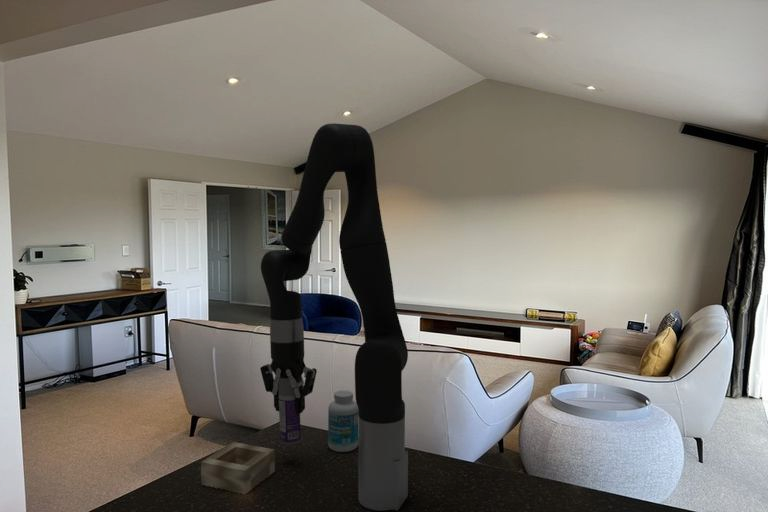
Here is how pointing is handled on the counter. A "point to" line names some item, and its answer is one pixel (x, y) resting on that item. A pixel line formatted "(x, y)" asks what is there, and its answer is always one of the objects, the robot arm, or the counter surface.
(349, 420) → the pill bottle
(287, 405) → the container
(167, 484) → the counter surface
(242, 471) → the socket block
